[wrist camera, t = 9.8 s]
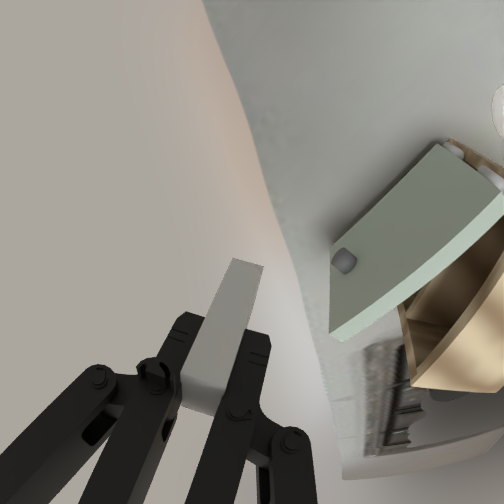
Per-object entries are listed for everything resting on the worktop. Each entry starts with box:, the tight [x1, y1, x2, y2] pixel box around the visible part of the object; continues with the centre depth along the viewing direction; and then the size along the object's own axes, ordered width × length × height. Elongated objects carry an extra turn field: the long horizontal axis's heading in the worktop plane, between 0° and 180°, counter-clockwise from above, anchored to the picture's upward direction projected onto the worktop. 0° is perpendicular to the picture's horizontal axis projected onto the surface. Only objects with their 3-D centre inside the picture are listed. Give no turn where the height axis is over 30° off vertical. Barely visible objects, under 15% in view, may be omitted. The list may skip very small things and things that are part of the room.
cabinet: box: [397, 138, 504, 393], centre depth 23 cm, size 19×13×17 cm
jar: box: [429, 388, 470, 401], centre depth 33 cm, size 9×8×12 cm
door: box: [329, 142, 504, 343], centre depth 23 cm, size 18×3×13 cm, turn 144°
